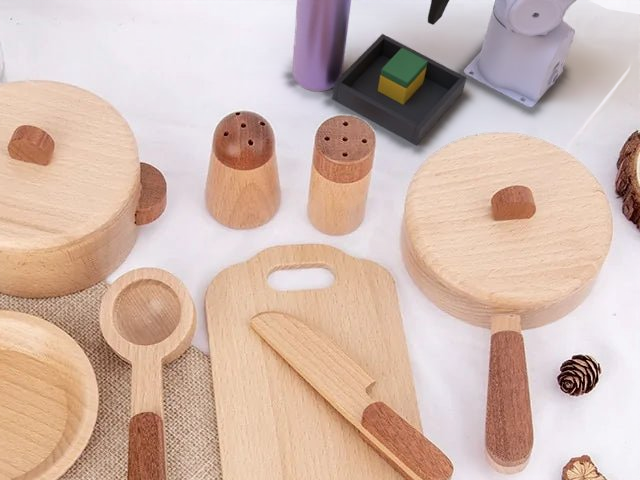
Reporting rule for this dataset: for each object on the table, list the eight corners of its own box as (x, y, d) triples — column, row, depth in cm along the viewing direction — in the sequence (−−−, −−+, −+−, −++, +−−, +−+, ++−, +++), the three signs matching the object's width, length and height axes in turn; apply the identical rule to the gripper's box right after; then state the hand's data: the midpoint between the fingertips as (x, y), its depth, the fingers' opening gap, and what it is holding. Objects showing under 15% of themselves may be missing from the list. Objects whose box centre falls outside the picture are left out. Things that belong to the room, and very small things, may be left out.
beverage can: (337, 98, 127) (350, -6, 114) (287, 90, 128) (294, -15, 115) (345, 62, 130) (358, -43, 117) (296, 55, 131) (304, -51, 118)
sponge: (423, 83, 128) (428, 60, 125) (403, 105, 126) (407, 82, 123) (397, 69, 129) (402, 47, 126) (377, 91, 127) (381, 68, 124)
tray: (461, 96, 128) (466, 77, 125) (415, 148, 124) (419, 129, 121) (379, 52, 131) (382, 33, 128) (331, 101, 127) (333, 82, 124)
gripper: (345, -113, 111) (333, -5, 123) (466, -53, 107) (441, 52, 119) (384, -146, 114) (368, -38, 126) (502, -90, 110) (475, 17, 122)
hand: (406, 4), depth 122 cm, fingers open, 7 cm apart
